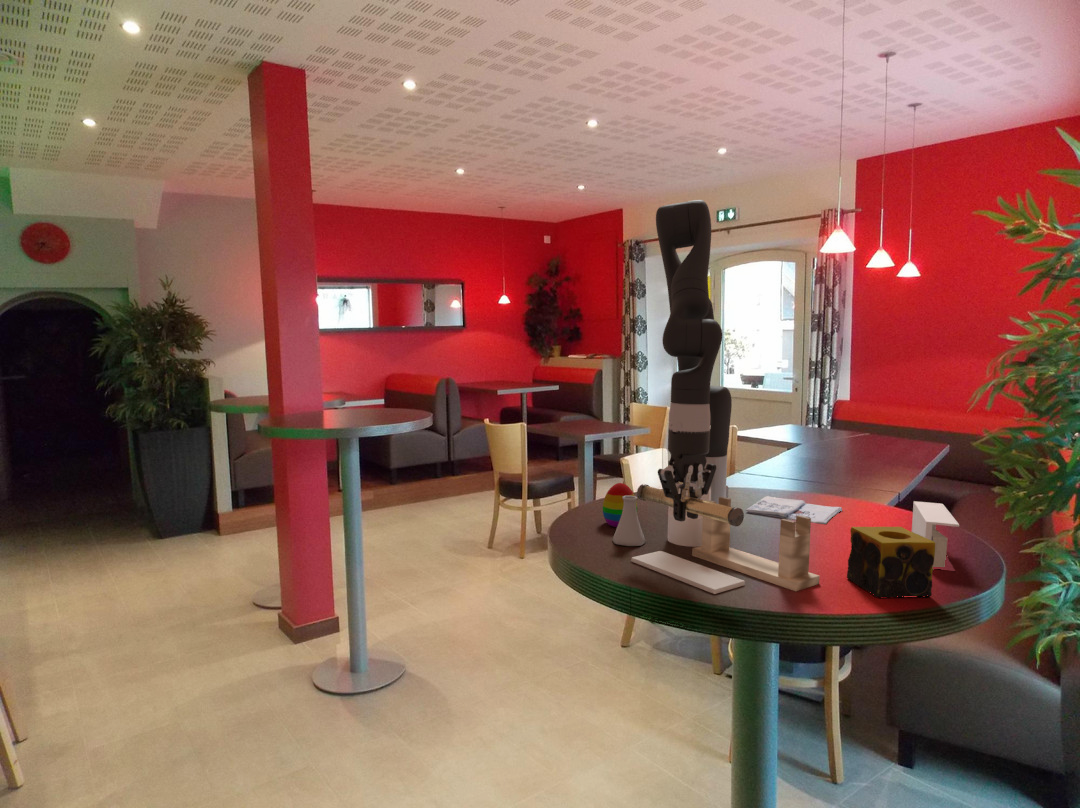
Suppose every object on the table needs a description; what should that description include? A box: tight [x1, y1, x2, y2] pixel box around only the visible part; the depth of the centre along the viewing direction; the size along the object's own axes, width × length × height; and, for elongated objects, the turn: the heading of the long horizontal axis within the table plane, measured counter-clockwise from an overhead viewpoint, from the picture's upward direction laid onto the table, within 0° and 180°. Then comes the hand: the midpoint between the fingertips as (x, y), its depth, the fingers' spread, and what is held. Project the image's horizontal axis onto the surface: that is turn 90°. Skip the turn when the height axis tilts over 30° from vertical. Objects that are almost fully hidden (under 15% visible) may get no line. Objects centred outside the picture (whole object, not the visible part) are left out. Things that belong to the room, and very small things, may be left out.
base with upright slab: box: [667, 486, 711, 548], centre depth 149 cm, size 9×9×12 cm
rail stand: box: [691, 497, 821, 592], centre depth 131 cm, size 7×24×12 cm, turn 35°
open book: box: [745, 495, 843, 525], centre depth 177 cm, size 19×20×2 cm
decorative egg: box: [602, 482, 638, 528], centre depth 162 cm, size 8×8×10 cm
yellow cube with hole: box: [846, 526, 935, 598], centre depth 121 cm, size 10×10×10 cm
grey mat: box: [630, 550, 746, 595], centre depth 128 cm, size 8×21×1 cm, turn 35°
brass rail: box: [636, 483, 745, 527], centre depth 127 cm, size 24×3×3 cm, turn 35°
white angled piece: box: [911, 500, 960, 567], centre depth 141 cm, size 20×6×9 cm, turn 158°
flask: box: [611, 495, 647, 547], centre depth 147 cm, size 7×7×10 cm
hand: (685, 518), depth 128 cm, fingers closed on brass rail, 2 cm apart
